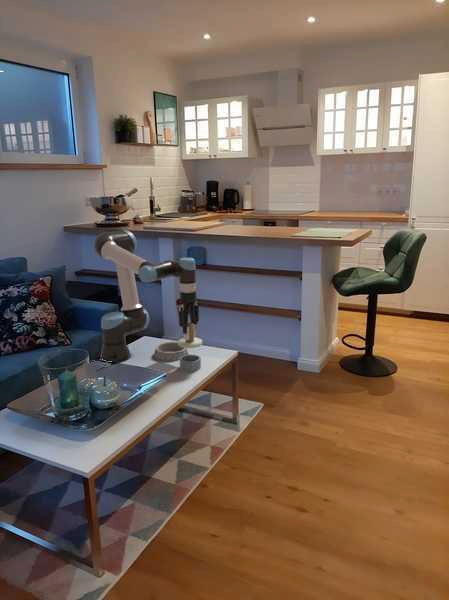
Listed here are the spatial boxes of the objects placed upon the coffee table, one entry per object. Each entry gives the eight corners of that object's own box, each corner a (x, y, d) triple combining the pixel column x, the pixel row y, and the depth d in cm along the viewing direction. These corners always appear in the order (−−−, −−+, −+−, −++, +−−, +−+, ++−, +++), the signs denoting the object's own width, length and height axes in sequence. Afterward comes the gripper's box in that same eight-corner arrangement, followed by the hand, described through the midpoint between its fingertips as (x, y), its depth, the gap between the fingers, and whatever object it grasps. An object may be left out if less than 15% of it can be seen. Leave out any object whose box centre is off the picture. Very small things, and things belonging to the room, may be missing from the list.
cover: (172, 344, 230) (171, 324, 228) (188, 338, 240) (188, 318, 237) (191, 349, 223) (190, 329, 221) (207, 342, 233) (206, 322, 230)
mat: (140, 371, 233) (140, 369, 233) (159, 362, 243) (159, 361, 243) (159, 377, 225) (159, 376, 225) (178, 368, 235) (178, 367, 235)
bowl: (176, 369, 234) (175, 359, 233) (189, 363, 242) (189, 353, 240) (191, 374, 228) (191, 363, 227) (204, 367, 236) (204, 357, 234)
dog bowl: (190, 350, 260) (190, 341, 258) (184, 363, 242) (184, 353, 241) (159, 349, 262) (159, 340, 260) (151, 362, 244) (150, 352, 242)
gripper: (181, 295, 216) (183, 344, 222) (205, 288, 229) (207, 335, 235) (169, 293, 220) (171, 341, 226) (193, 286, 233) (195, 332, 239)
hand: (189, 338), depth 231 cm, fingers closed on cover, 4 cm apart
